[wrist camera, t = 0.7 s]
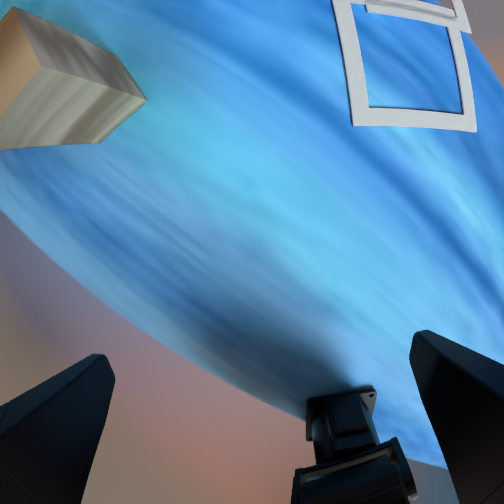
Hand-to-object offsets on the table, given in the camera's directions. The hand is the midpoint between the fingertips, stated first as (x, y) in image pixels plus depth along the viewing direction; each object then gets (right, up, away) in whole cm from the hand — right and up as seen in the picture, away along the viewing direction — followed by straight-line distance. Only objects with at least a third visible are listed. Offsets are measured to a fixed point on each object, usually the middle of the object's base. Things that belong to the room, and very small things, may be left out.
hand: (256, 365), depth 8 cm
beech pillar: (-10, +13, +9) cm, 19 cm away
